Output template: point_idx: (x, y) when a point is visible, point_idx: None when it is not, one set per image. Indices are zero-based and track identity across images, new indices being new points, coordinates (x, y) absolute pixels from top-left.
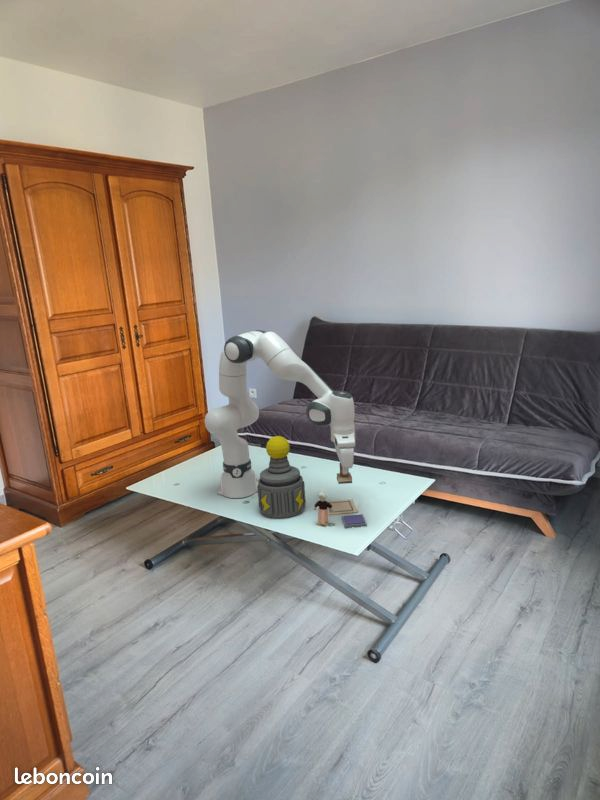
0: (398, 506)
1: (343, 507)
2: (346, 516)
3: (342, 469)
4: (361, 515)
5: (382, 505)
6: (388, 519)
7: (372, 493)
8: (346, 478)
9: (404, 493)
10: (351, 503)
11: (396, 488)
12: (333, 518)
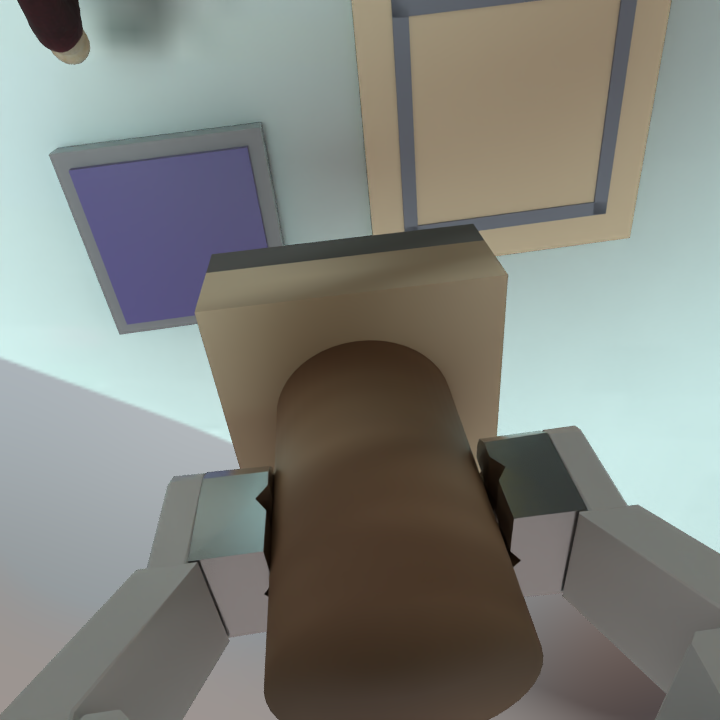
0: None
1: (483, 151)
2: (237, 179)
3: (174, 558)
4: None
5: None
6: None
7: (677, 375)
8: (236, 438)
9: None
10: (545, 225)
11: (683, 499)
12: (270, 35)
